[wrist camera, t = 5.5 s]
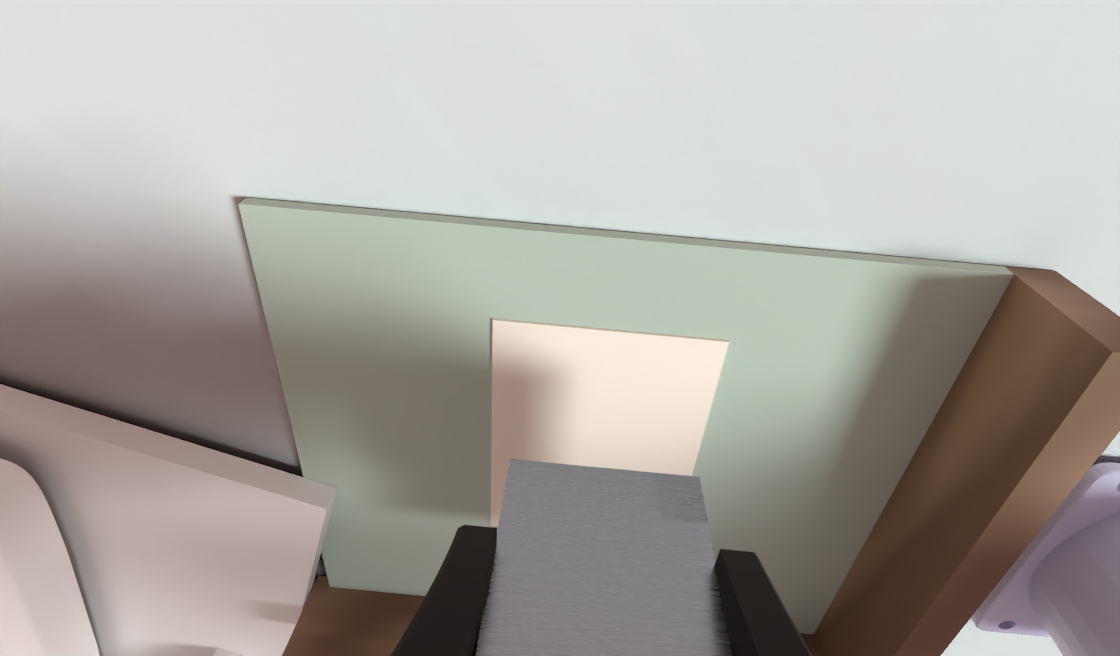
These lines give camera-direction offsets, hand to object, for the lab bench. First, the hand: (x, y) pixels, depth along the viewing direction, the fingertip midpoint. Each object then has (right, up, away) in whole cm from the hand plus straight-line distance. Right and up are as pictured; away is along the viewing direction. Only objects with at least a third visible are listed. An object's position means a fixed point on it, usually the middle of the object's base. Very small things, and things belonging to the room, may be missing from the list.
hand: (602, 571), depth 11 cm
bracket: (0, -1, +3) cm, 3 cm away
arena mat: (0, +1, +7) cm, 7 cm away
